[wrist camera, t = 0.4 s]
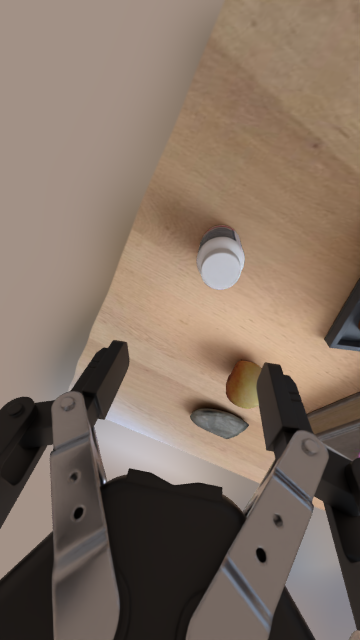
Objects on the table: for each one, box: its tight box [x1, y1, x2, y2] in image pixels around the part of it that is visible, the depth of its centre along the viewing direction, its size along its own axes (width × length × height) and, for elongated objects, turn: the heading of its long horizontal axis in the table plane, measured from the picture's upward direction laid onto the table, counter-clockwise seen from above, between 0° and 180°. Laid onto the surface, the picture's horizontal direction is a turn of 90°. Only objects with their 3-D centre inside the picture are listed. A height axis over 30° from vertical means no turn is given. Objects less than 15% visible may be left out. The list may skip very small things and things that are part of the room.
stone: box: [190, 409, 249, 439], centre depth 50 cm, size 13×9×3 cm
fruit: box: [226, 360, 262, 409], centre depth 37 cm, size 8×8×8 cm
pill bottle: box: [197, 225, 245, 290], centre depth 24 cm, size 5×5×9 cm
